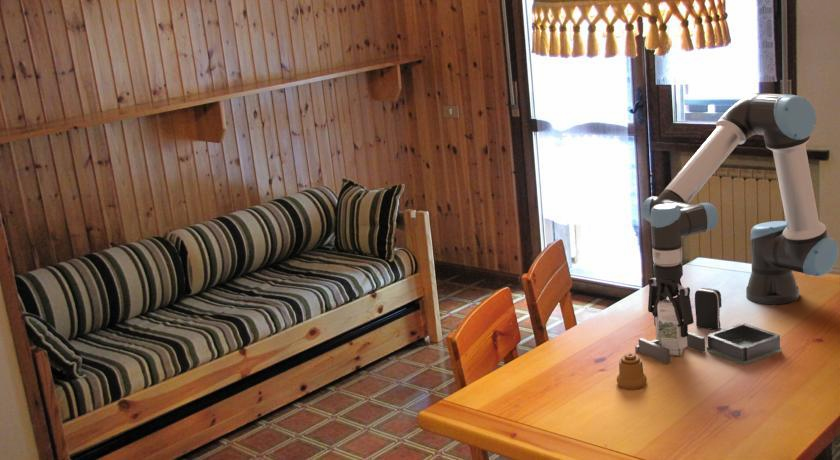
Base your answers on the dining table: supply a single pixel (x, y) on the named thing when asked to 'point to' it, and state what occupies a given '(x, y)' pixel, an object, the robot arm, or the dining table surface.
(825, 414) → the dining table surface
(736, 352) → the square tray
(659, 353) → the grey u-shaped bracket
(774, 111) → the robot arm
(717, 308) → the black rounded block
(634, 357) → the ornamental finial
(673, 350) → the syrup box
